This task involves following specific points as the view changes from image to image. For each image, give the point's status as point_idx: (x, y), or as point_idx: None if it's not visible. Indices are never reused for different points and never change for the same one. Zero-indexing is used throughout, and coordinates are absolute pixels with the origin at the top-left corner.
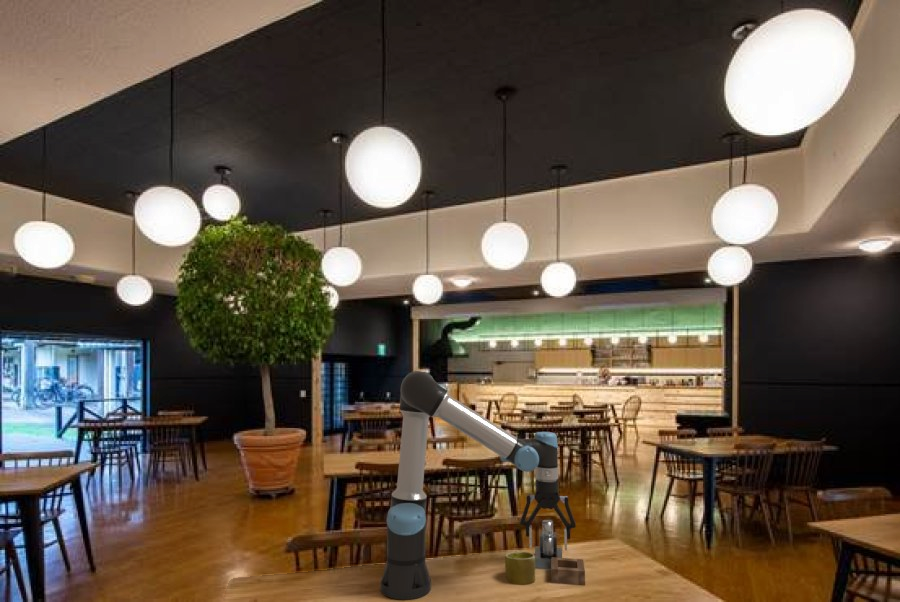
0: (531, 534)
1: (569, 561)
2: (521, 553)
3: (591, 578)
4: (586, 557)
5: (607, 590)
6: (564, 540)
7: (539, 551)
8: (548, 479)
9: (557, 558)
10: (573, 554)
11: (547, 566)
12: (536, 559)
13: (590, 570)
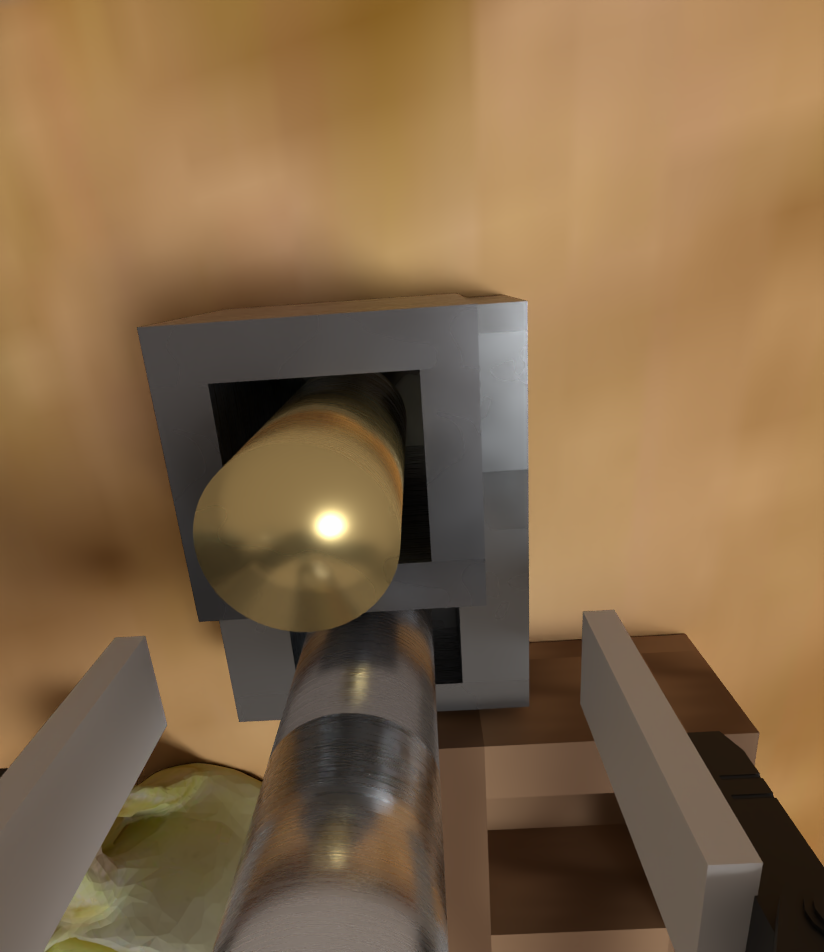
0: (75, 886)
1: (604, 786)
2: (107, 938)
3: (744, 665)
4: (802, 115)
5: (820, 824)
6: (612, 679)
7: None
8: None
9: (483, 767)
10: (650, 38)
11: None
12: (263, 715)
13: (770, 503)
